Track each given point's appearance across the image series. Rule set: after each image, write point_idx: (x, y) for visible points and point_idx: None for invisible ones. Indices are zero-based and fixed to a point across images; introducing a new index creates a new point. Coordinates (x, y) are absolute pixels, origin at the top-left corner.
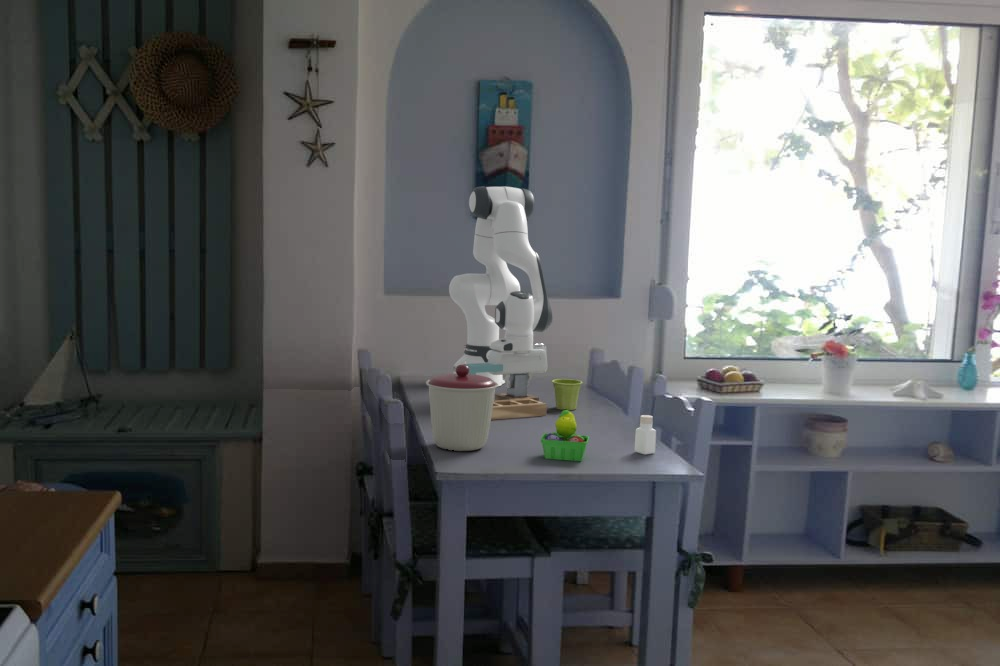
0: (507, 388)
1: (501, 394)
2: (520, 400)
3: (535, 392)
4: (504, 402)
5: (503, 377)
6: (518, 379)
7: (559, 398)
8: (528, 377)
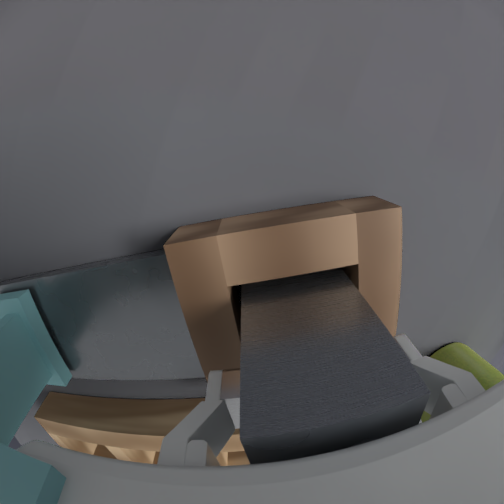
0: (242, 329)
1: (209, 266)
2: (243, 449)
3: (488, 19)
4: None
5: (170, 441)
6: None
7: (422, 420)
8: (433, 403)
